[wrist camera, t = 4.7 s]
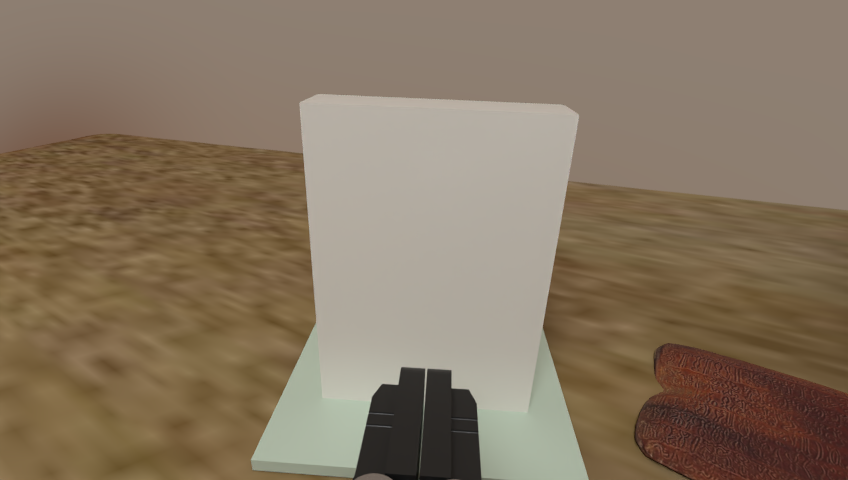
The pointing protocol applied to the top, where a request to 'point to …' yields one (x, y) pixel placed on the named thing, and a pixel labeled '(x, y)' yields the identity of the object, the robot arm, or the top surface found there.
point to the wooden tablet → (741, 421)
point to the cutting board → (498, 430)
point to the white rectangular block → (433, 239)
